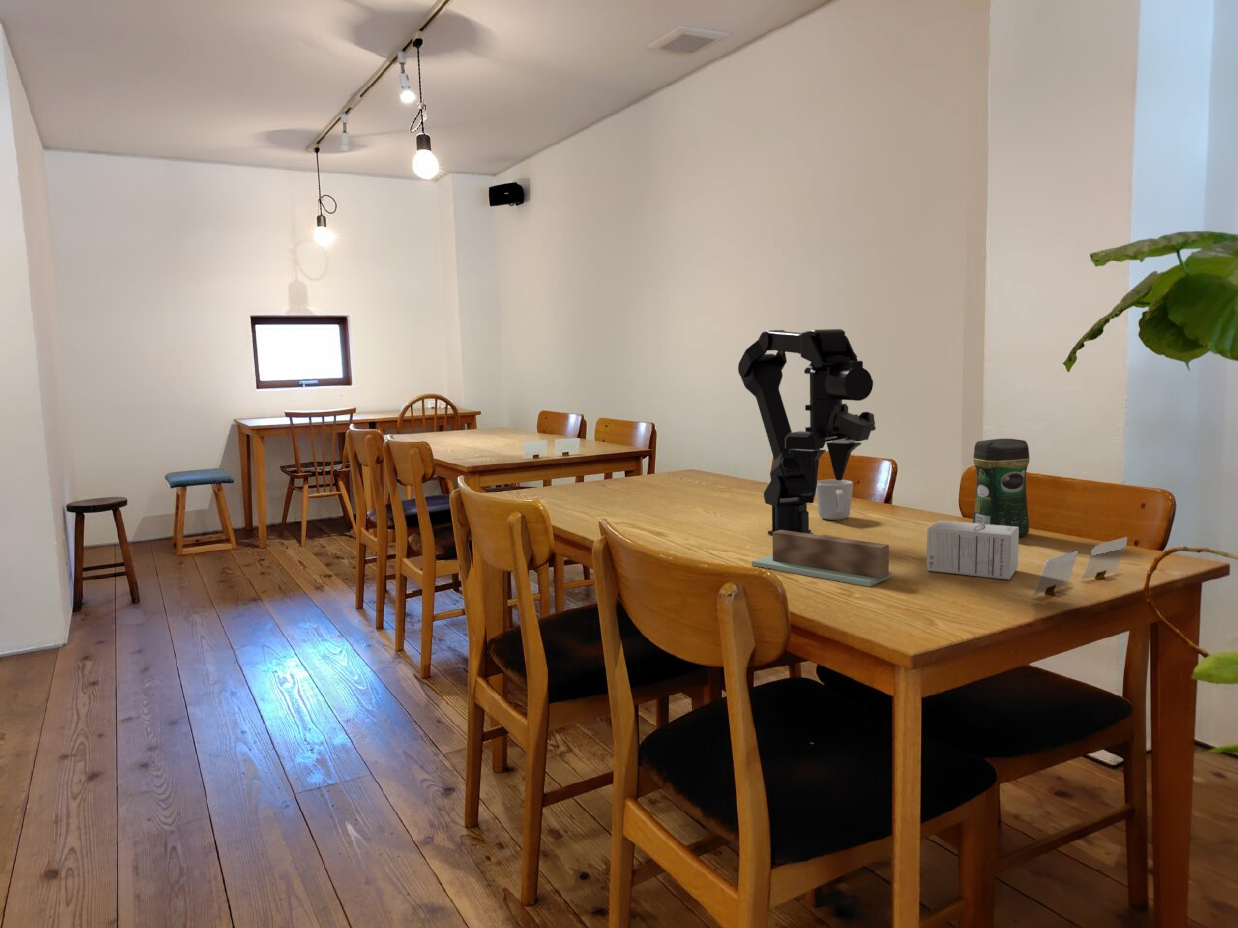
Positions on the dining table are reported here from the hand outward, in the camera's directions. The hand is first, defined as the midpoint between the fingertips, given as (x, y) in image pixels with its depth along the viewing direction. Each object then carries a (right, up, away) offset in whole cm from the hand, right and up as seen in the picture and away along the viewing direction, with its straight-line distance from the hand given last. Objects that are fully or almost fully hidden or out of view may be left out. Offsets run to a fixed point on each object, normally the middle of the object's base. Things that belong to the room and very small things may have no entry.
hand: (826, 483), depth 154 cm
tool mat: (-5, -14, -15) cm, 22 cm away
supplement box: (+14, -10, -15) cm, 23 cm away
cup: (+9, -9, +27) cm, 29 cm away
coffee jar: (+35, -10, +7) cm, 37 cm away
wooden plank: (-4, -14, -17) cm, 22 cm away
